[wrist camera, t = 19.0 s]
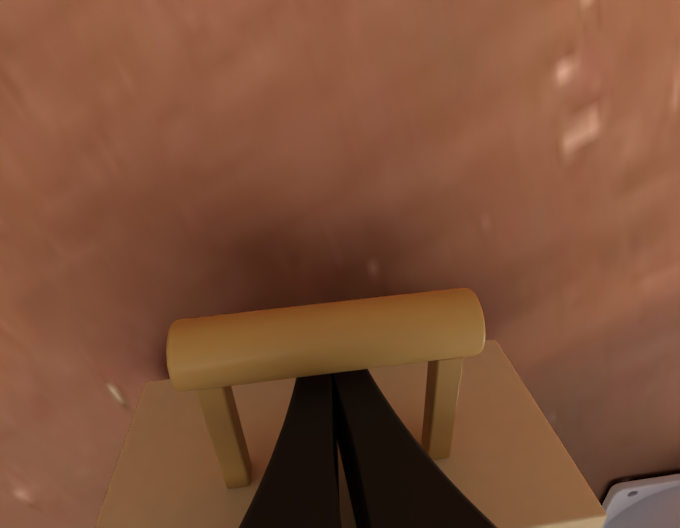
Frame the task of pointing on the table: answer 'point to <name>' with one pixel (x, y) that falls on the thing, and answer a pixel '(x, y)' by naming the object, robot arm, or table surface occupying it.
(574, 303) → the table surface
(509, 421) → the drawer
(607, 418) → the table surface
